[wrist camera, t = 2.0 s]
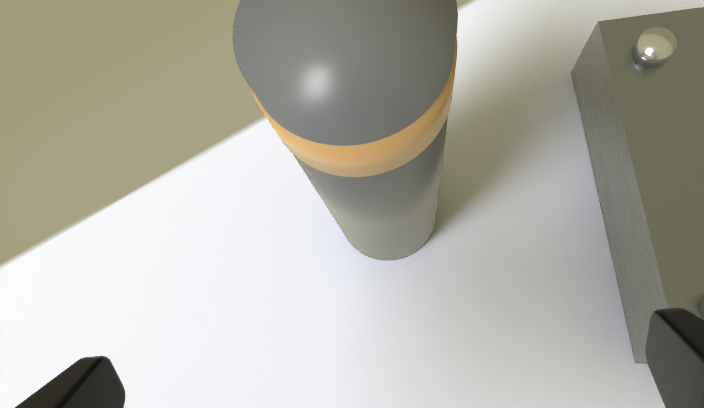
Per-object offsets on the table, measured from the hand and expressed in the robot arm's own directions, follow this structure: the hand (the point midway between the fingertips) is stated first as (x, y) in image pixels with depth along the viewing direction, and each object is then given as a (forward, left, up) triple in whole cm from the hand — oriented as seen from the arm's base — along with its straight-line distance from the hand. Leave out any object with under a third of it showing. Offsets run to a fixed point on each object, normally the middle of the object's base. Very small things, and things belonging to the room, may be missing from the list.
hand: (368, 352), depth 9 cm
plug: (+3, -5, -12) cm, 13 cm away
